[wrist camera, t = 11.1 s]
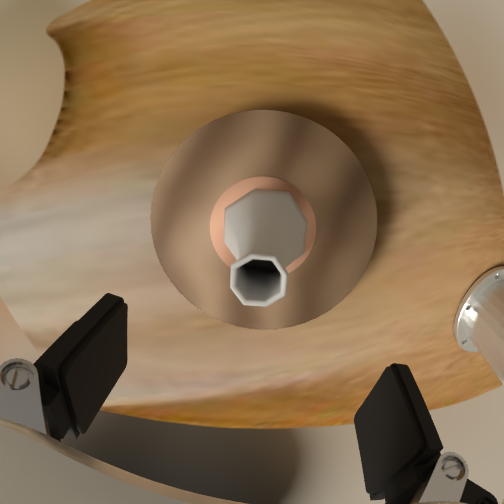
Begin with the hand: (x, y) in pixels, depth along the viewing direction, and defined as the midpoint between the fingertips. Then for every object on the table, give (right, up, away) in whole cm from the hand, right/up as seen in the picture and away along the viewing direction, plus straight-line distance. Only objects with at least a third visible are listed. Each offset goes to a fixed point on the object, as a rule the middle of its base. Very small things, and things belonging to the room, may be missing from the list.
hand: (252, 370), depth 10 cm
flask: (+1, +6, +16) cm, 17 cm away
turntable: (+1, +6, +17) cm, 19 cm away
